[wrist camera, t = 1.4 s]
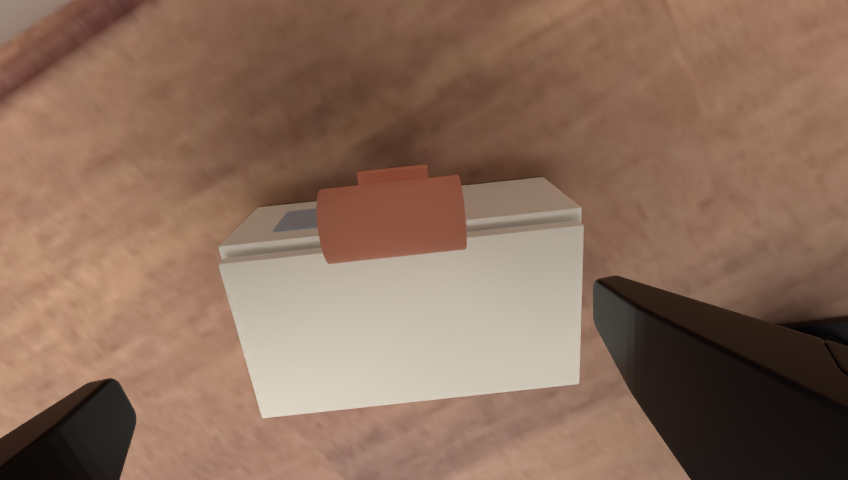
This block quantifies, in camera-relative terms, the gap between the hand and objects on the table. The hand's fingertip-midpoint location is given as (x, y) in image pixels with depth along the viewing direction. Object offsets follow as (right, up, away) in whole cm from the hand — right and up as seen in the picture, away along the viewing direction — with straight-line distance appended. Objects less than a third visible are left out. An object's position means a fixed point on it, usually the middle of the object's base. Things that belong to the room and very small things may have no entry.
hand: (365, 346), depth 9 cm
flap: (0, 0, +9) cm, 9 cm away
